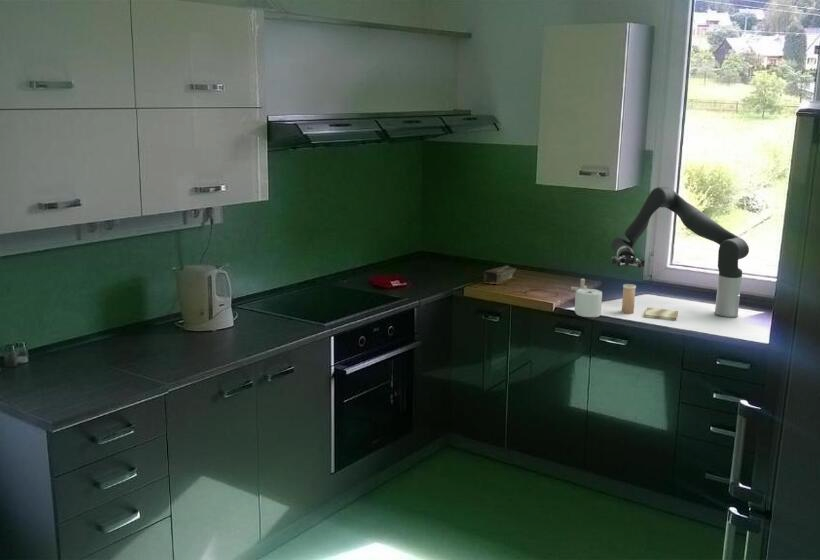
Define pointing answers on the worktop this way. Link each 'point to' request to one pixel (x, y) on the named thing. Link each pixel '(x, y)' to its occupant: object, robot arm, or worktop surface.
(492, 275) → the beverage carton
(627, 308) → the terracotta jar
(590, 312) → the toilet tissue
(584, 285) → the pipe connector
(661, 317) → the birch board
